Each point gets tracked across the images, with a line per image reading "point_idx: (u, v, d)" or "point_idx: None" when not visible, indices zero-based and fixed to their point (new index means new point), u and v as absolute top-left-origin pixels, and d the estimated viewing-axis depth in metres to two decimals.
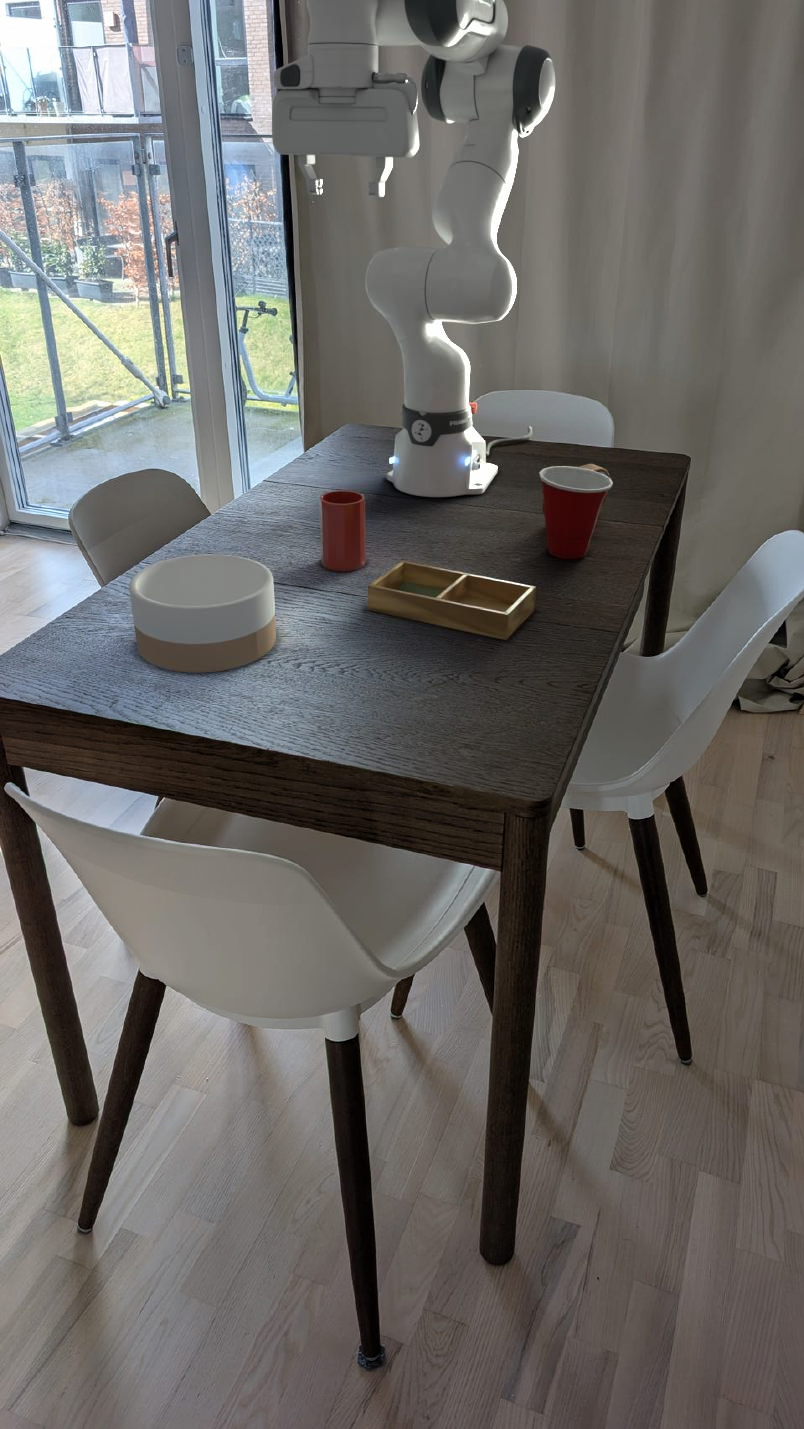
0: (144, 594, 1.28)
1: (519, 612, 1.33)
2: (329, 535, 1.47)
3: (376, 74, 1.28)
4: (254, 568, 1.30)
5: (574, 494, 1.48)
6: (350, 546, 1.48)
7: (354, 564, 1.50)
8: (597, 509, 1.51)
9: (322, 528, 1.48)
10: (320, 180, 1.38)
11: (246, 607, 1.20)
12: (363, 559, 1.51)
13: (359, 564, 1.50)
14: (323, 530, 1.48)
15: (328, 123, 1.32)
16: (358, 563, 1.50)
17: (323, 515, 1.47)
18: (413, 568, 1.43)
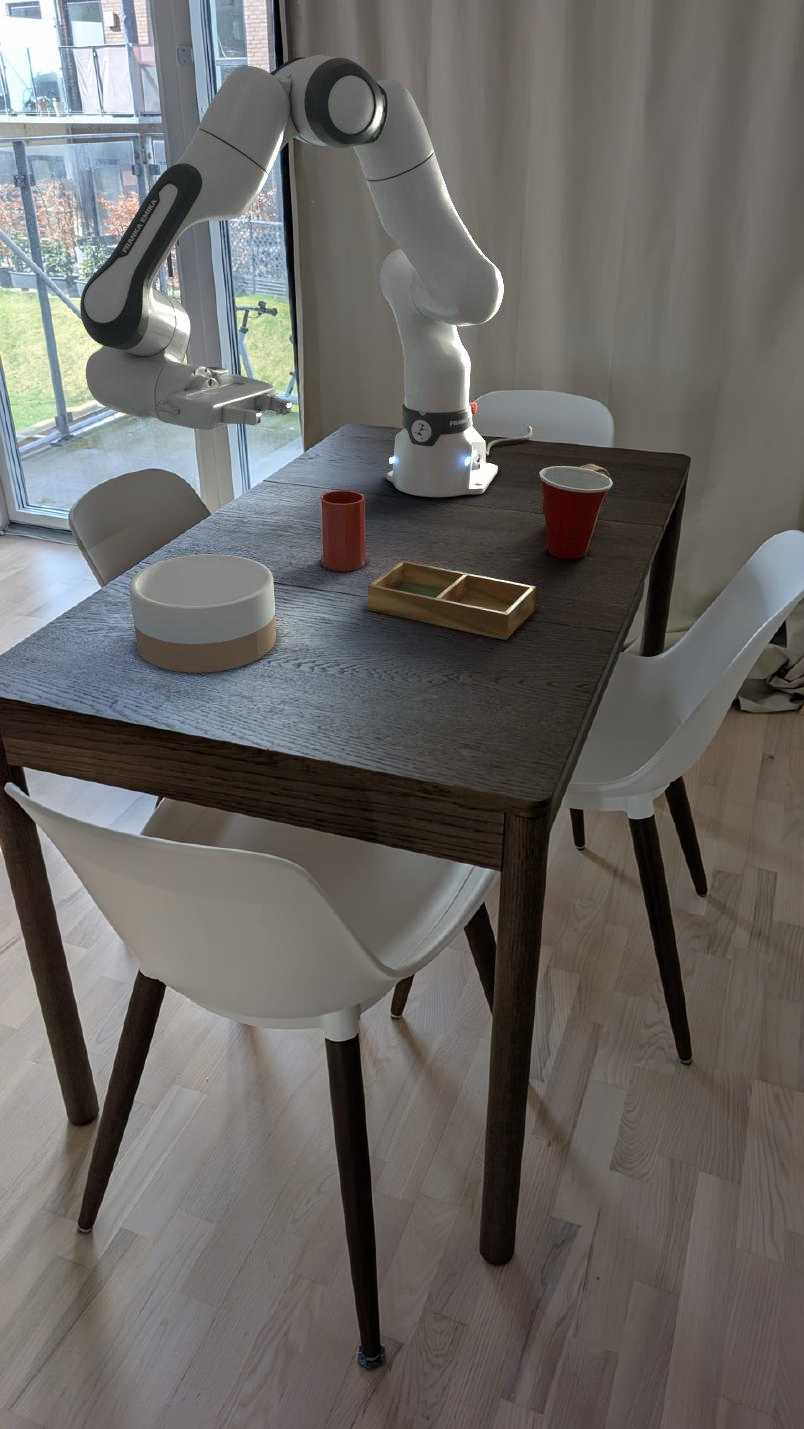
0: (144, 594, 1.28)
1: (519, 612, 1.33)
2: (329, 535, 1.47)
3: None
4: (254, 568, 1.30)
5: (574, 494, 1.48)
6: (350, 546, 1.48)
7: (354, 564, 1.50)
8: (597, 509, 1.51)
9: (322, 528, 1.48)
10: (277, 404, 1.50)
11: (246, 607, 1.20)
12: (363, 559, 1.51)
13: (359, 564, 1.50)
14: (323, 530, 1.48)
15: None
16: (358, 563, 1.50)
17: (323, 515, 1.47)
18: (413, 568, 1.43)
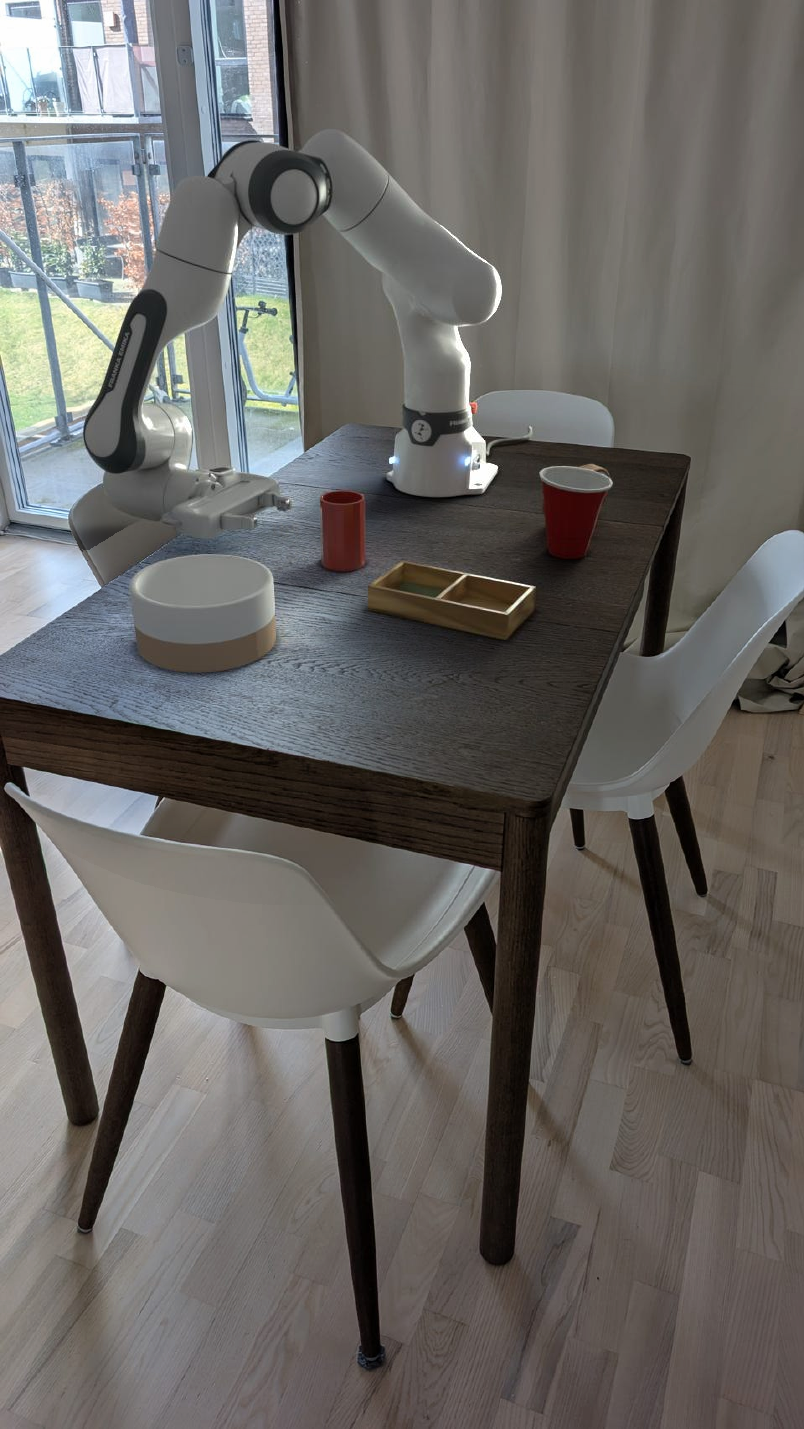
0: (144, 594, 1.28)
1: (519, 612, 1.33)
2: (329, 535, 1.47)
3: None
4: (254, 568, 1.30)
5: (574, 494, 1.48)
6: (350, 546, 1.48)
7: (354, 564, 1.50)
8: (597, 509, 1.51)
9: (322, 528, 1.48)
10: (277, 502, 1.58)
11: (246, 607, 1.20)
12: (363, 559, 1.51)
13: (359, 564, 1.50)
14: (323, 530, 1.48)
15: None
16: (358, 563, 1.50)
17: (323, 515, 1.47)
18: (413, 568, 1.43)
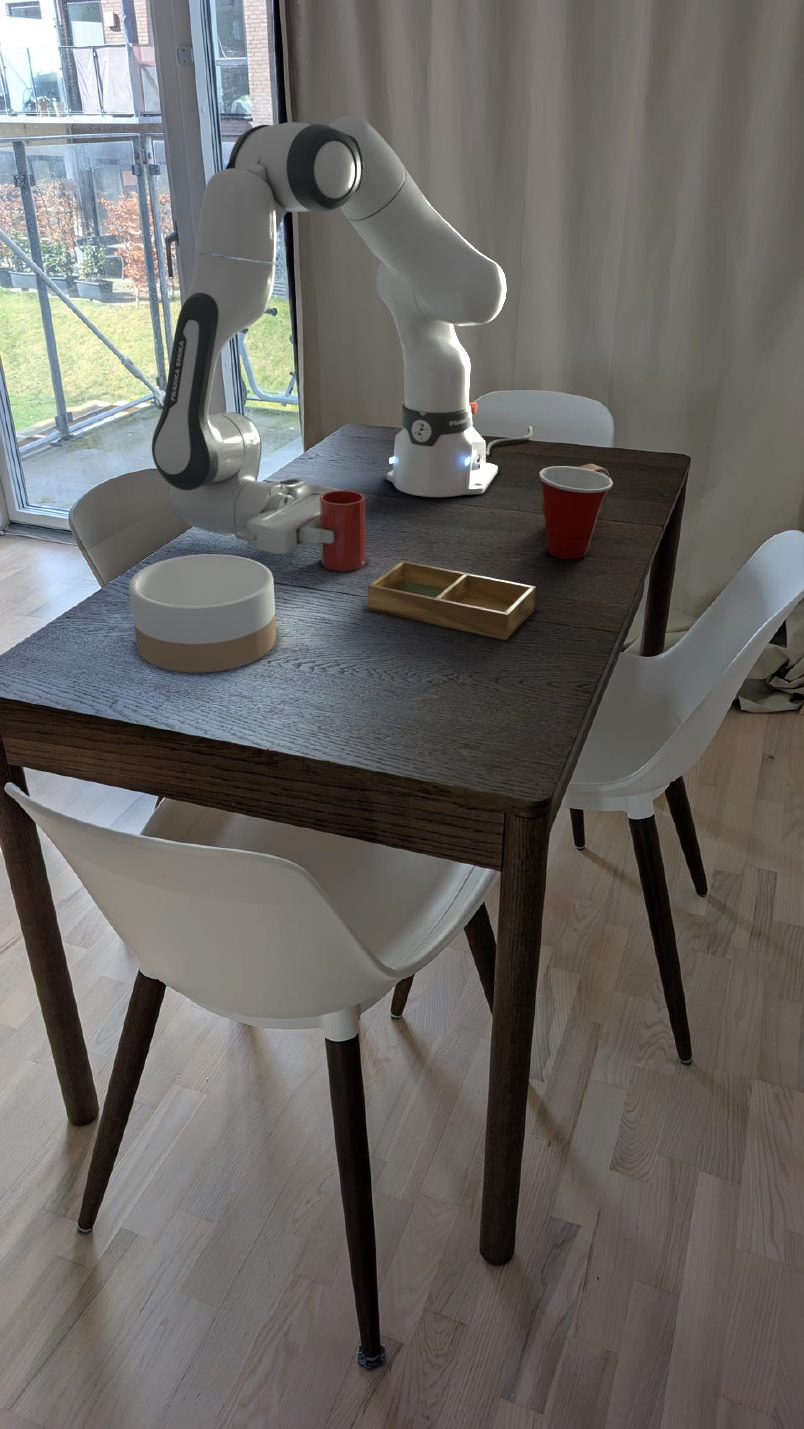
0: (144, 594, 1.28)
1: (519, 612, 1.33)
2: None
3: None
4: (254, 568, 1.30)
5: (574, 494, 1.48)
6: (350, 546, 1.48)
7: (354, 564, 1.50)
8: (597, 509, 1.51)
9: (322, 528, 1.48)
10: None
11: (246, 607, 1.20)
12: (363, 559, 1.51)
13: (359, 564, 1.50)
14: None
15: None
16: (358, 563, 1.50)
17: (323, 515, 1.47)
18: (413, 568, 1.43)
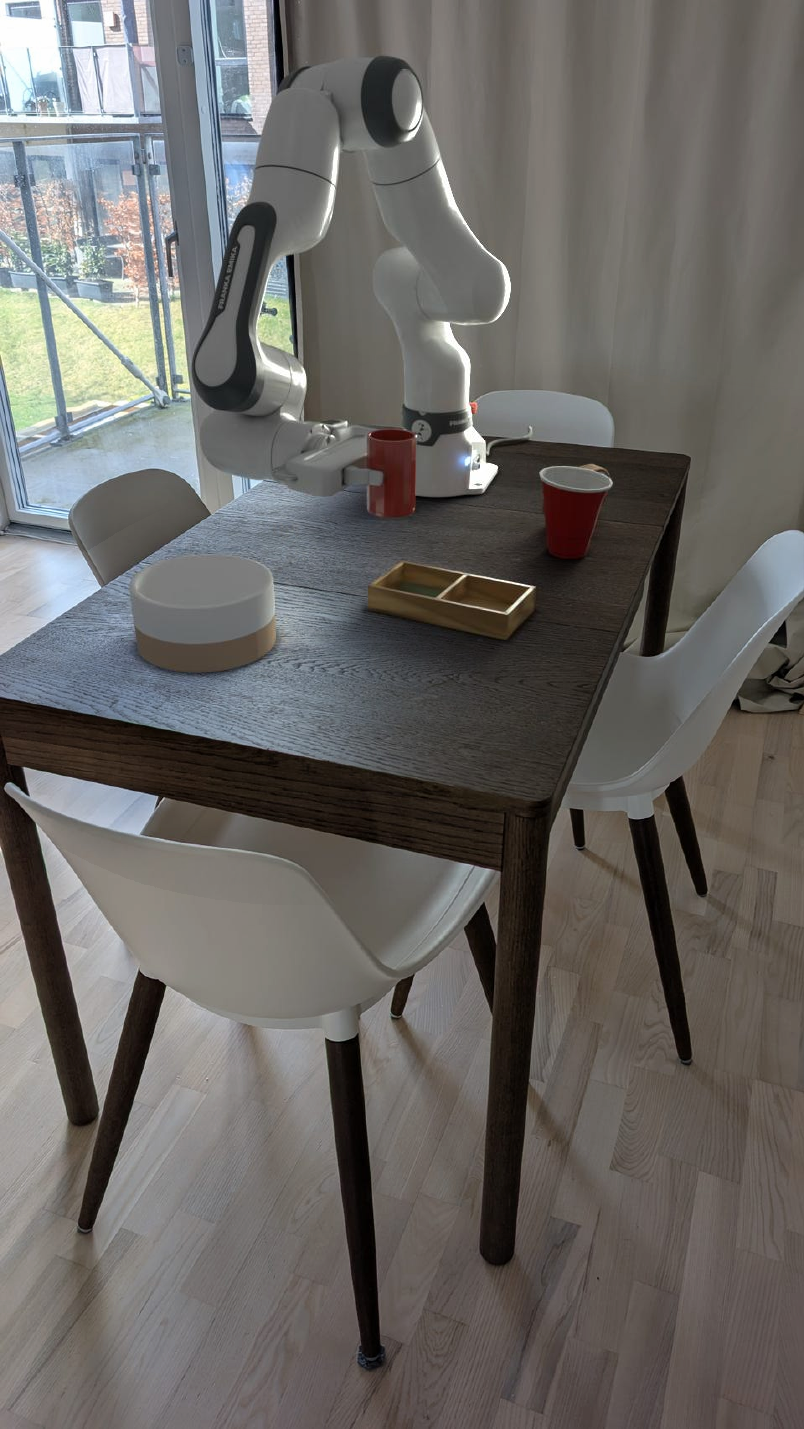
0: (144, 594, 1.28)
1: (519, 612, 1.33)
2: None
3: None
4: (254, 568, 1.30)
5: (574, 494, 1.48)
6: (400, 489, 1.34)
7: (404, 510, 1.36)
8: (597, 509, 1.51)
9: None
10: None
11: (246, 607, 1.20)
12: (413, 505, 1.37)
13: (409, 510, 1.36)
14: None
15: None
16: (408, 509, 1.36)
17: (370, 454, 1.33)
18: (413, 568, 1.43)
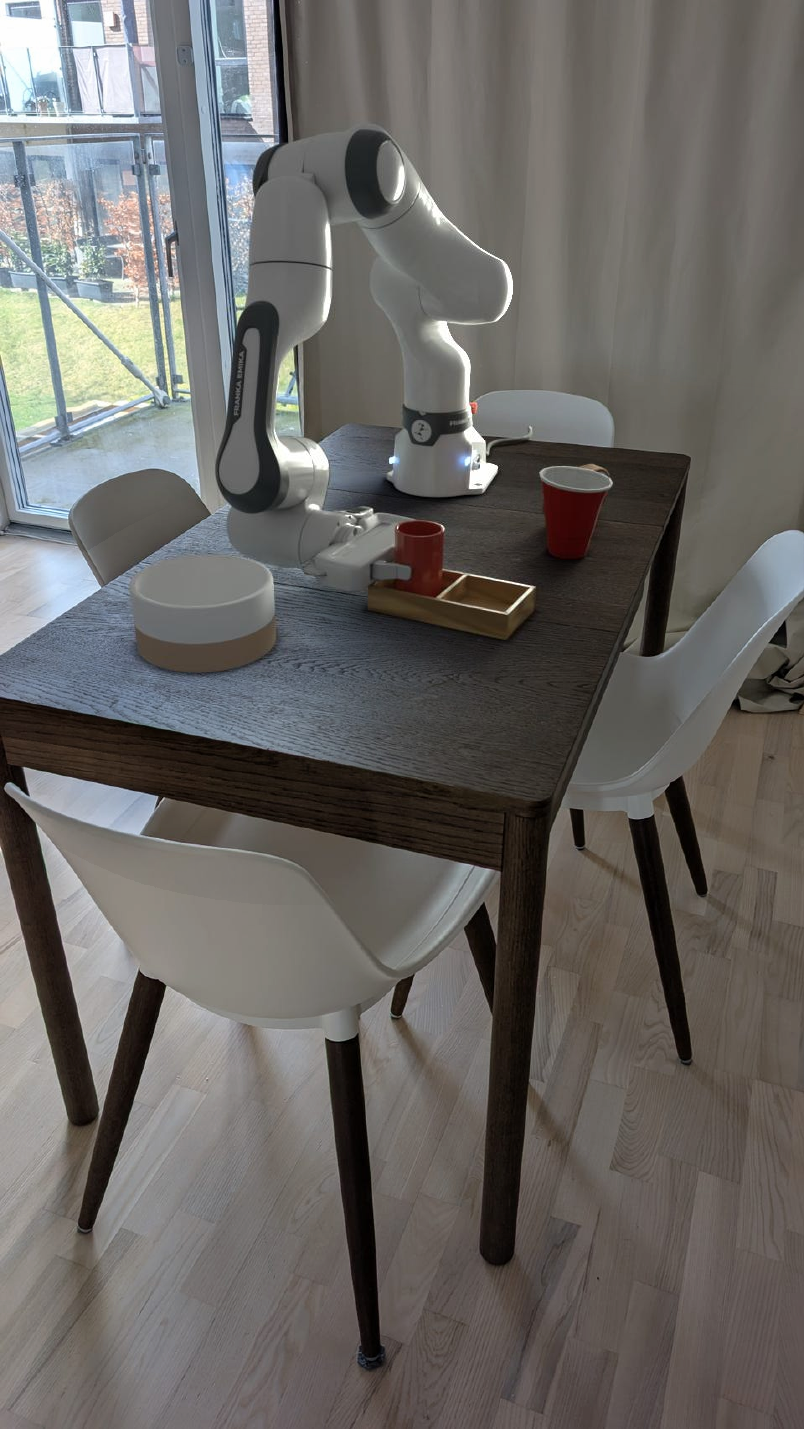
0: (144, 594, 1.28)
1: (519, 612, 1.33)
2: None
3: None
4: (254, 568, 1.30)
5: (574, 494, 1.48)
6: (428, 582, 1.35)
7: None
8: (597, 509, 1.51)
9: (397, 562, 1.35)
10: None
11: (246, 607, 1.20)
12: None
13: None
14: None
15: None
16: None
17: (398, 547, 1.34)
18: None
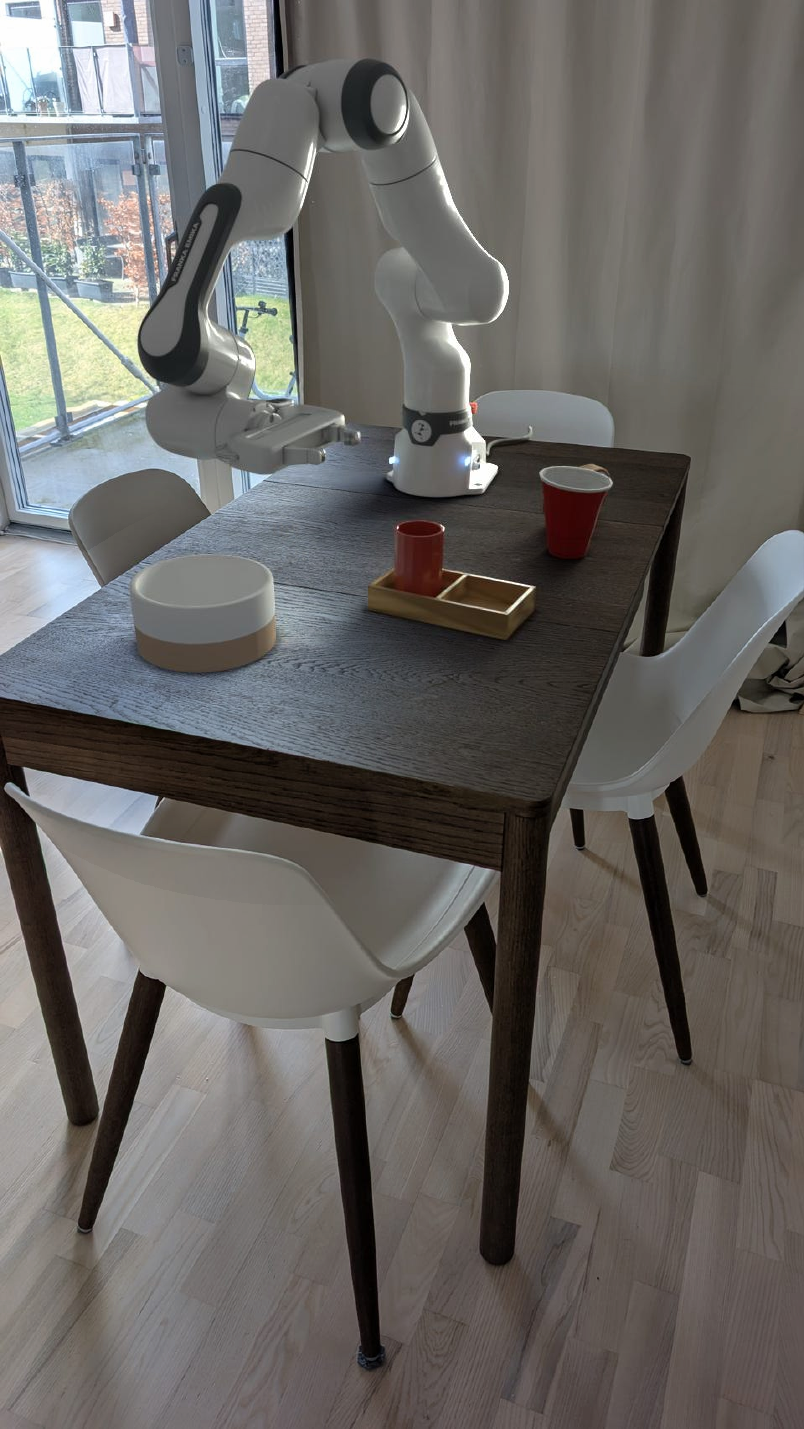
0: (144, 594, 1.28)
1: (519, 612, 1.33)
2: (405, 569, 1.34)
3: None
4: (254, 568, 1.30)
5: (574, 494, 1.48)
6: (428, 582, 1.35)
7: None
8: (597, 509, 1.51)
9: (397, 562, 1.35)
10: (344, 435, 1.38)
11: (246, 607, 1.20)
12: None
13: None
14: (398, 564, 1.35)
15: None
16: None
17: (398, 547, 1.34)
18: None
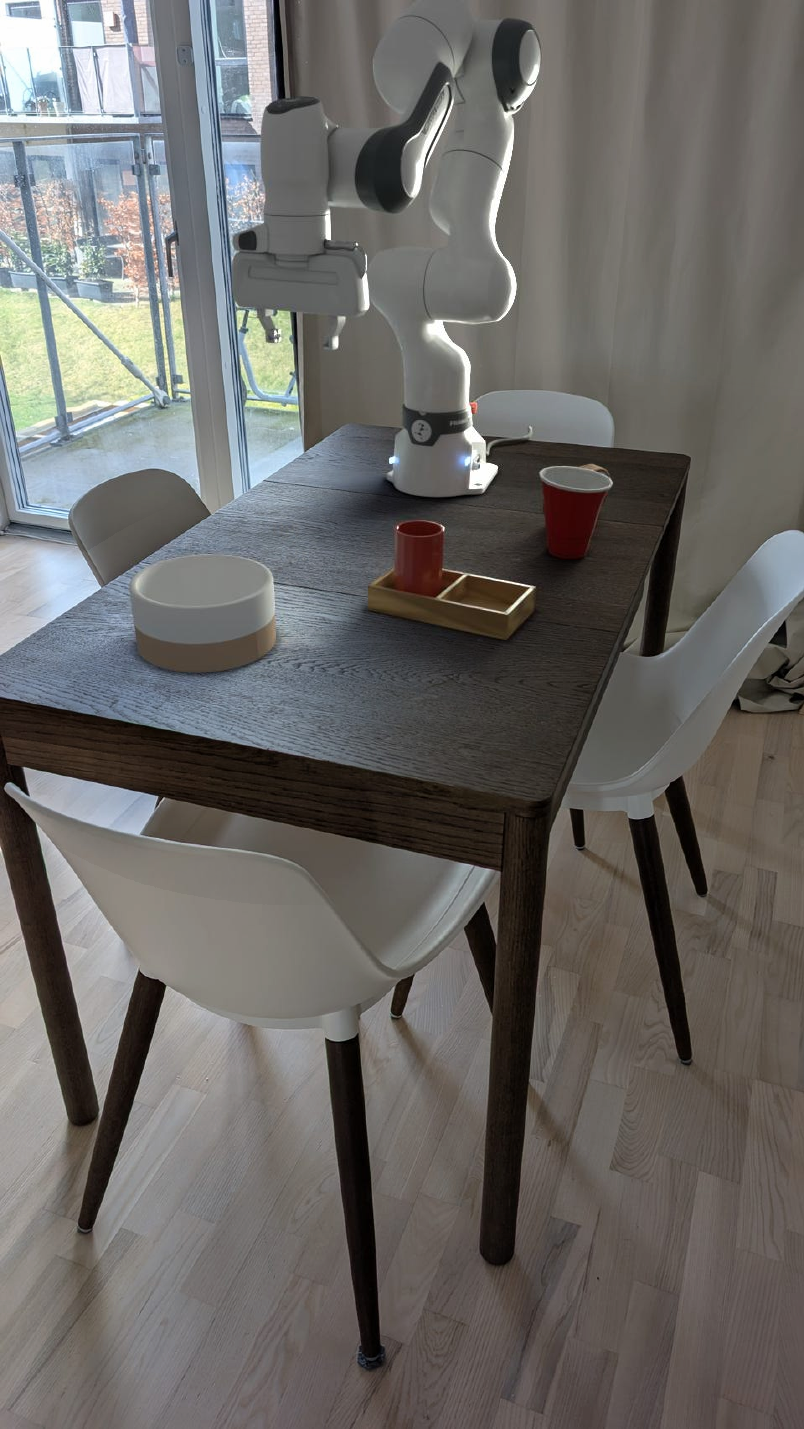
0: (144, 594, 1.28)
1: (519, 612, 1.33)
2: (405, 569, 1.34)
3: (328, 241, 1.36)
4: (254, 568, 1.30)
5: (574, 494, 1.48)
6: (428, 582, 1.35)
7: None
8: (597, 509, 1.51)
9: (397, 562, 1.35)
10: (278, 330, 1.46)
11: (246, 607, 1.20)
12: None
13: None
14: (398, 564, 1.35)
15: (284, 282, 1.40)
16: None
17: (398, 547, 1.34)
18: None
